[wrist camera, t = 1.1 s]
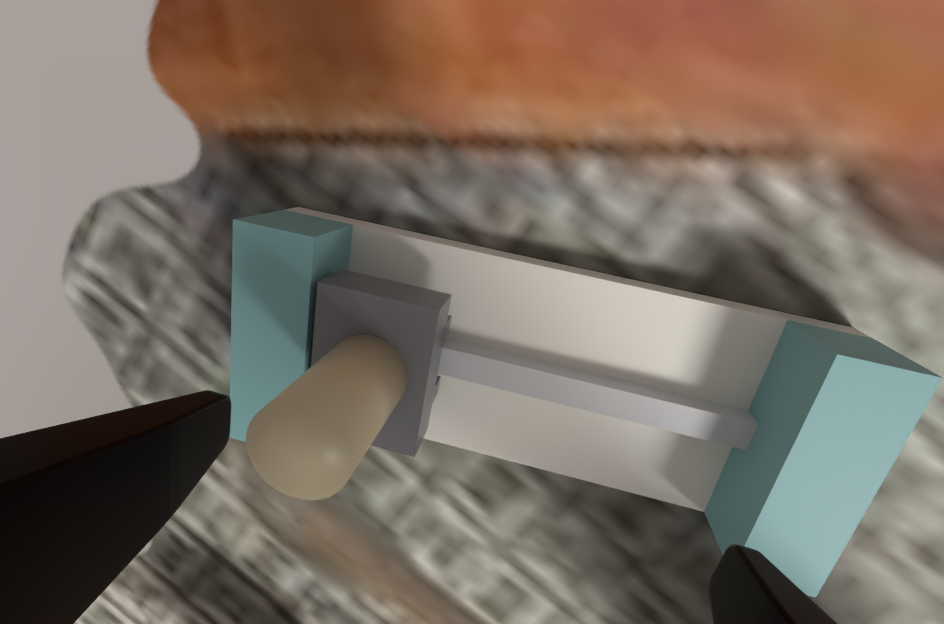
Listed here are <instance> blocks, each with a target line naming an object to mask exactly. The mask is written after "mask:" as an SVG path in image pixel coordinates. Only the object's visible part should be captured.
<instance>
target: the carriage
mask: <svg viewBox="0 0 944 624" xmlns="http://www.w3.org/2000/svg"><path fill="white" fill-rule="evenodd" d="M451 296H452V294H448V293H443V292H439V291H434V290H430V289H426V288H421V287H417V286H413V285H408V284H404V283H400V282H395V281H391V280H386V279H382V278H378V277H373V276H369V275H365V274H360V273H356V272H352V271H347V270H343V269H342V270H340V271H338V272H336V273H334V274H332V275H330V276H328V277H326V278H324V279H322V280H320V281H318V283H317V296H316V309H315V322H314V334H313V347H312V360H311V368H309V369H308V370H307V371H306V372H305V373H303V374H302V375H301V376H300V377H299V378H298V379H296V380H295V381H294V382H293V383H292V384H291V385H289V386H288V387H287V388H286V389H285V390H283V391H282V392H281V393H280V394H279V395H278V396H276V397H275V398H274V399H273V400H272V401H270V402H269V403H268V404H267V405H266V406H265V407H263V408H262V409H261V410H260V411H259V412H257V414H256V415H255V416H254V417H253V418H252V420H251V421H250V423H249V426H248V429H247V433H246V447H247V452H248V455H249V458H250V460H251V463H252V465H253V466H254V468H255V470H256V471H257V472H258V474H259V475H260V476H261V477H262V478H263V479H264V480H265V481H266V482H267V483H268V484H269V485H270V486H272V487H273V488H274V489H276V490H278V491H279V492H281V493H283V494H285V495H287V496H290V497H293V498H296V499H301V500H321V499H325V498H328V497H330V496H332V495H334V494H336V493H337V492H338V491H340V490H341V489H342V488H343V486H344V485H345V484H346V482H347V481H348V479H349V478H350V476H351V475H352V473H353V472H354V470H355V469H356V467H357V465H358V464H359V462H360V461H361V459H362V458H363V456H364V455H365V453H366V452H367V450H368V449H369V447H370V445H372V446H376V447H380V448H383V449H387V450H391V451H395V452H398V453H402V454H406V455H410V456H413V457H415V455H416V452H417V450H418V448H419V446H420V444H421V442H422V440H423V438H424V436H425V434H426V431H427V429H428V425H429V419H430V413H431V408H432V403H433V401H434V399H435V397H436V396H437V394H438V389H439V384H440V378H441V376H437V374H438V369H439V363H440V357H441V352H442V346H443V342H444V340H445V339H446V337H447V335H448V334H449V329H450V323H451V317H452V316H451V315H448V312H449V307H450V301H451Z"/></svg>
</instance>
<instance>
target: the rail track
mask: <svg viewBox="0 0 944 624" xmlns="http://www.w3.org/2000/svg"><path fill="white" fill-rule="evenodd" d="M342 269H343V270H347V271H352V272H356V273H360V274H365V275H369V276H373V277H378V278H382V279H386V280H391V281H395V282H400V283H404V284H408V285H413V286H417V287H421V288H426V289H430V290H434V291H439V292H443V293H448V294H452V296H451V301H450V307H449V312H448V315H451V316H452V317H451V323H450V329H449V334H448V335H447V337H446V339H445V340H444V342H443V346H442V352H441V357H440V363H439V369H438V374H437V376H441V378H440V384H439V389H438V394H437V396H436V397H435V399H434V401H433V403H432V408H431V413H430V419H429V425H428V429H427V431H426V434H425V436H424V439H428V440H432V441H436V442H439V443H443V444H447V445H451V446H455V447H459V448H462V449H466V450H470V451H474V452H478V453H481V454H485V455H489V456H493V457H497V458H501V459H504V460H508V461H512V462H516V463H520V464H523V465H527V466H531V467H535V468H539V469H543V470H546V471H550V472H554V473H558V474H562V475H565V476H569V477H573V478H577V479H581V480H584V481H588V482H592V483H596V484H600V485H604V486H607V487H611V488H615V489H619V490H623V491H626V492H630V493H634V494H638V495H642V496H646V497H649V498H653V499H657V500H661V501H665V502H668V503H672V504H676V505H680V506H684V507H688V508H691V509H695V510H699V511H703V512H704V513H705V515H706V517H707V520H708V522H709V525H710V527H711V529H712V532H713V534H714V536H715V539H716V541H717V544H718V546H719V548H720V551H721V553H722V555H723V554H724V552H725V550H726V549H727V547H728V546H730V545H731V544H738V545H741V546H745V547H748V548H752V549H755V550H757V551H759V552H760V553H762V554H763V555H764V556H765V557H766V558H767V559H768V560H769V561H770V562H771V563H772V564H773V565H775V566H776V567H777V568H778V569H779V570H780V571H781V572H782V573H783V574H784V575H785V576H786V577H787V578H789V579H790V580H791V581H792V582H793V583H794V584H795V585H796V586H797V587H798V588H799V589H800V590H801V591H802V592H804V593H805V594H806V595H807V596H811V597H814V598H816V597H817V595H818V593H819V591H820V590H821V588H822V586H823V584H824V583H825V581H826V579H827V577H828V576H829V574H830V572H831V571H832V569H833V567H834V565H835V564H836V562H837V560H838V558H839V557H840V555H841V553H842V551H843V550H844V548H845V546H846V545H847V543H848V541H849V539H850V538H851V536H852V534H853V532H854V531H855V529H856V527H857V525H858V524H859V522H860V520H861V519H862V517H863V515H864V513H865V512H866V510H867V508H868V506H869V505H870V503H871V501H872V499H873V498H874V496H875V494H876V493H877V491H878V489H879V487H880V486H881V484H882V482H883V480H884V479H885V477H886V475H887V473H888V472H889V470H890V468H891V467H892V465H893V463H894V461H895V460H896V458H897V456H898V454H899V453H900V451H901V449H902V447H903V446H904V444H905V442H906V440H907V439H908V437H909V435H910V434H911V432H912V430H913V428H914V427H915V425H916V423H917V421H918V420H919V418H920V416H921V414H922V413H923V411H924V409H925V408H926V406H927V404H928V402H929V401H930V399H931V397H932V395H933V394H934V392H935V390H936V388H937V387H938V385H939V383H940V382H941V380H942V377H940V376H938V375H937V374H935V373H933V372H931V371H930V370H928V369H926V368H924V367H923V366H921V365H919V364H917V363H915V362H914V361H912V360H910V359H908V358H907V357H905V356H903V355H901V354H899V353H898V352H896V351H894V350H892V349H891V348H889V347H887V346H885V345H883V344H882V343H880V342H878V341H876V340H875V339H873V338H871V337H869V336H868V335H866V334H864V333H862V332H860V331H859V330H857V329H855V328H853V327H848V326H844V325H839V324H835V323H830V322H825V321H821V320H816V319H812V318H807V317H802V316H798V315H793V314H789V313H784V312H779V311H775V310H770V309H766V308H761V307H756V306H752V305H747V304H743V303H738V302H733V301H729V300H724V299H720V298H715V297H710V296H706V295H701V294H697V293H692V292H687V291H683V290H678V289H674V288H669V287H664V286H660V285H655V284H651V283H646V282H642V281H637V280H632V279H628V278H623V277H619V276H614V275H609V274H605V273H600V272H596V271H591V270H586V269H582V268H577V267H573V266H568V265H563V264H559V263H554V262H550V261H545V260H540V259H536V258H531V257H527V256H522V255H517V254H513V253H508V252H504V251H499V250H494V249H490V248H485V247H481V246H476V245H471V244H467V243H462V242H458V241H453V240H448V239H444V238H439V237H435V236H430V235H425V234H421V233H416V232H412V231H407V230H403V229H398V228H393V227H389V226H384V225H380V224H375V223H370V222H366V221H361V220H357V219H352V218H347V217H343V216H338V215H334V214H329V213H324V212H320V211H315V210H311V209H306V208H301V207H296V208H291V209H285V210H280V211H274V212H269V213H263V214H258V215H253V216H247V217H242V218H236V219H233V238H232V303H231V367H230V399H231V425H230V436H229V438H233V439H236V440H240V441H244V442H246V433H247V429H248V426H249V423H250V421H251V420H252V418H253V417H254V416H255V415H256V414H257V412H259V411H260V410H261V409H262V408H263V407H265V406H266V405H267V404H268V403H269V402H270V401H272V400H273V399H274V398H275V397H276V396H278V395H279V394H280V393H281V392H282V391H283V390H285V389H286V388H287V387H288V386H289V385H291V384H292V383H293V382H294V381H295V380H296V379H298V378H299V377H300V376H301V375H302V374H303V373H305V372H306V371H307V370H308V369H309V368H311V360H312V347H313V334H314V322H315V309H316V296H317V283H318V281H320V280H322V279H324V278H326V277H328V276H330V275H332V274H334V273H336V272H338V271H340V270H342Z"/></svg>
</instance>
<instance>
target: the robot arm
mask: <svg viewBox="0 0 944 624" xmlns="http://www.w3.org/2000/svg"><path fill="white" fill-rule="evenodd" d="M230 425H231V399H230V398H229V397H228V396H227V395H224V394H220V393H217V392H214V391H209V390H206V391H201V392H197V393H193V394H189V395H184V396H180V397H176V398H172V399H167V400H163V401H159V402H154V403H150V404H146V405H142V406H137V407H133V408H129V409H125V410H121V411H116V412H112V413H107V414H103V415H99V416H95V417H90V418H86V419H82V420H78V421H73V422H69V423H65V424H60V425H56V426H52V427H48V428H43V429H39V430H35V431H30V432H26V433H22V434H17V435H14V436H9V437H5V438H0V624H73V623H74V622H75V621H76V620H77V619H78V618H79V617H80V616H81V615H82V614H83V613H84V612H85V610H86V609H87V608H88V607H89V606H90V605H91V604H92V603H93V602H94V601H95V600H96V599H97V597H98V596H99V595H100V594H101V593H102V592H103V591H104V590H105V589H106V588H107V587H108V586H109V584H110V583H111V582H112V581H113V580H114V579H115V578H116V577H117V576H118V575H119V574H120V573H121V571H122V570H123V569H124V568H125V567H126V566H127V565H128V564H129V563H130V562H131V561H132V560H133V558H134V557H135V556H136V555H137V554H138V553H139V552H140V551H141V550H142V549H143V548H144V547H145V545H146V544H147V543H148V542H149V541H150V540H151V539H152V538H153V537H154V536H155V535H156V534H157V532H158V531H159V530H160V529H161V528H162V527H163V526H164V525H165V524H166V522H167V521H168V520H169V519H170V518H171V517H172V515H173V514H174V513H175V512H176V510H177V509H178V508H179V507H180V505H181V504H182V503H183V502H184V500H185V499H186V498H187V496H188V495H189V494H190V492H191V491H192V490H193V488H194V487H195V486H196V484H197V483H198V482H199V480H200V479H201V478H202V477H203V475H204V474H205V473H206V471H207V470H208V469H209V467H210V466H211V465H212V463H213V462H214V461H215V459H216V458H217V457H218V456H219V454H220V453H221V452H222V450H223V449H224V447H225V446H226V444H227V442H228V440H229V436H230ZM709 596H710V603H711V610H712V616H713V623H714V624H837V623H836V622H835V621H834V620H833V619H832V618H830V617H829V616H828V615H827V614H826V613H825V612H824V611H823V610H822V609H821V608H820V607H819V606H818V605H816V604H815V603H814V602H813V601H812V600H811V599H810V598H809V597H808V596H807V595H806V594H805V593H804V592H802V591H801V590H800V589H799V588H798V587H797V586H796V585H795V584H794V583H793V582H792V581H791V580H790V579H789V578H787V577H786V576H785V575H784V574H783V573H782V572H781V571H780V570H779V569H778V568H777V567H776V566H775V565H773V564H772V563H771V562H770V561H769V560H768V559H767V558H766V557H765V556H764V555H763V554H762V553H760V552H759V551H757V550H755V549H752V548H748V547H745V546H741V545H738V544H731V545H730V546H728V547H727V549H726V550H725V552H724V554H723V556H722V558H721V560H720V562H719V564H718V566H717V567H716V569H715V571H714V573H713V575H712V577H711V580H710V584H709Z"/></svg>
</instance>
